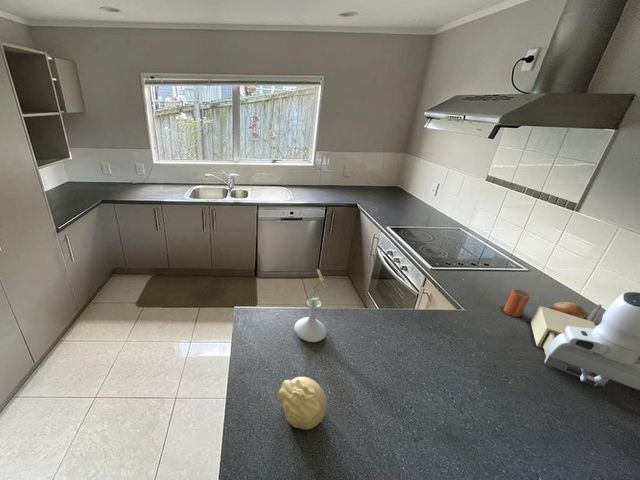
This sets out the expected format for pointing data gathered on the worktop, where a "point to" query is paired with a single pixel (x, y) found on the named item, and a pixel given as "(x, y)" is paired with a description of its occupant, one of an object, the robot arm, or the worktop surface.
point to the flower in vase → (312, 319)
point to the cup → (516, 302)
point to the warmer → (554, 323)
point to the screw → (594, 313)
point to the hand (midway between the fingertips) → (587, 382)
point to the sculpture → (302, 402)
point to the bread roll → (570, 309)
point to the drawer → (559, 363)
